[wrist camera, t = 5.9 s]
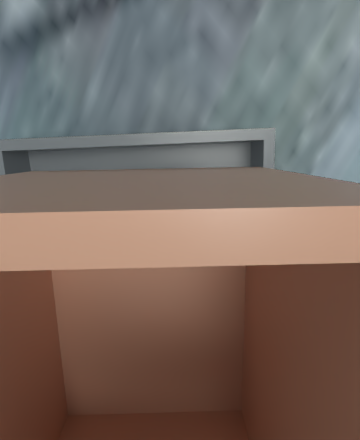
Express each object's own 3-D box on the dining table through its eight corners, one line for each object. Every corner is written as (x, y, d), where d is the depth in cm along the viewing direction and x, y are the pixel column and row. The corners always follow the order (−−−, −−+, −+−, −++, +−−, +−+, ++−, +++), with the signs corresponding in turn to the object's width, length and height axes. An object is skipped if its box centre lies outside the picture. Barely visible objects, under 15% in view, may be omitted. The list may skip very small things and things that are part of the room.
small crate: (251, 406, 13) (366, 785, 5) (61, 412, 13) (-112, 808, 5) (260, 166, 11) (478, 202, 3) (32, 171, 11) (-342, 220, 3)
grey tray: (255, 297, 30) (270, 324, 25) (46, 305, 30) (21, 334, 25) (257, 132, 27) (275, 127, 22) (23, 142, 27) (-12, 140, 22)
